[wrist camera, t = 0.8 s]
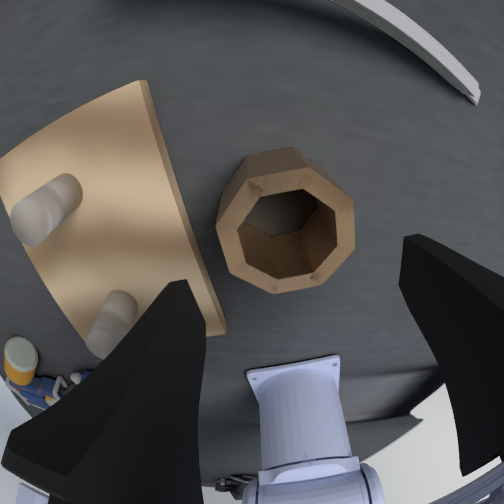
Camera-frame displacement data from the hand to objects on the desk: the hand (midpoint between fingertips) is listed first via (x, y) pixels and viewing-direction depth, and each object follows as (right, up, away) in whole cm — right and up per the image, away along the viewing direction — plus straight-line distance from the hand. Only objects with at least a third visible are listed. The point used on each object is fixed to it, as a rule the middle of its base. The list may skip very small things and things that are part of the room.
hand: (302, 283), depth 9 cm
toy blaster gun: (-25, -14, +17) cm, 33 cm away
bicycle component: (-2, -51, +40) cm, 65 cm away
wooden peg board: (-11, +2, +7) cm, 13 cm away
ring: (0, +4, +6) cm, 7 cm away
